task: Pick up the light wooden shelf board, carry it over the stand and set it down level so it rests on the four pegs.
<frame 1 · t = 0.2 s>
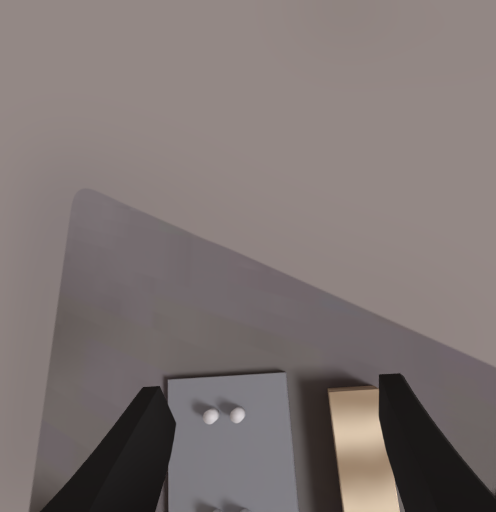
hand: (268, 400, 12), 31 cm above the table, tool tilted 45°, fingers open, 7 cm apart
peg stand: (231, 460, 39), on the table
shelf board: (359, 456, 38), on the table
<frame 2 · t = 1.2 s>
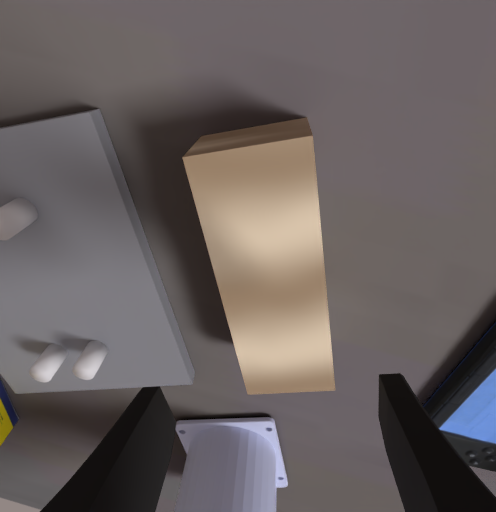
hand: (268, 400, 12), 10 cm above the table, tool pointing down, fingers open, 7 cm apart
peg stand: (52, 280, 22), on the table
shelf board: (274, 252, 20), on the table
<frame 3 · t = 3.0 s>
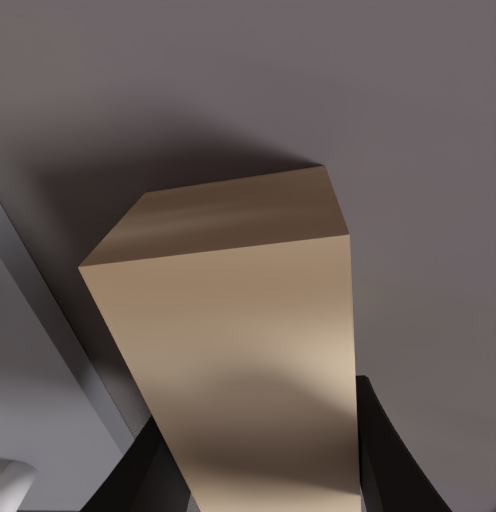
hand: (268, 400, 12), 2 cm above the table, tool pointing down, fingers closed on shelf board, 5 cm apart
shelf board: (269, 357, 13), on the table, touching gripper
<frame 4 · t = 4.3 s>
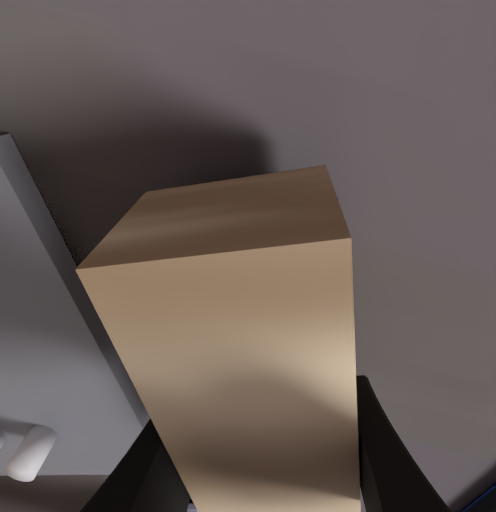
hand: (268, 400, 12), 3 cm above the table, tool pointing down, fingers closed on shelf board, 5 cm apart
shelf board: (269, 359, 13), point 2 cm above the table, touching gripper
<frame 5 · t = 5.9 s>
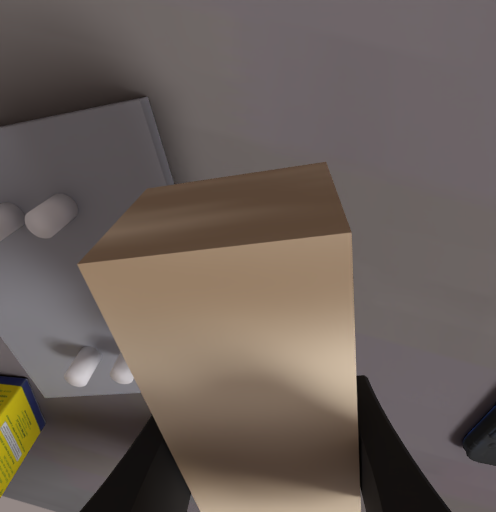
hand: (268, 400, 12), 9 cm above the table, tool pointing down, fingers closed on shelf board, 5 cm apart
peg stand: (87, 280, 21), on the table
supplement box: (4, 395, 28), on the table
shelf board: (269, 357, 13), point 7 cm above the table, touching gripper
when the fingers open (6 cm above the table, at t = 8.5 s): shelf board drops 1 cm, resting on peg stand.
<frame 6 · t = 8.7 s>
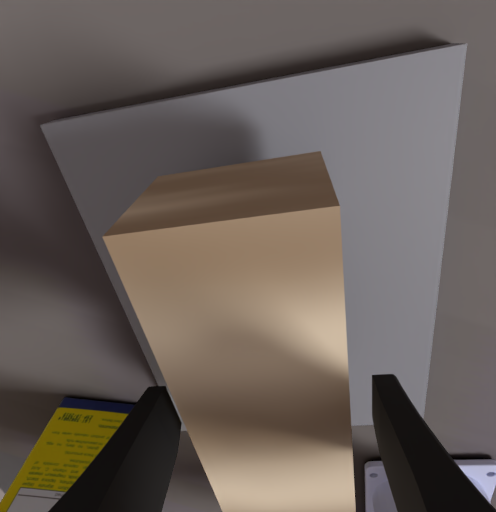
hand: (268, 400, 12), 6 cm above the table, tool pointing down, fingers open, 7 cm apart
peg stand: (272, 292, 17), on the table
supplement box: (117, 424, 24), on the table
shelf board: (270, 335, 14), point 3 cm above the table, touching peg stand
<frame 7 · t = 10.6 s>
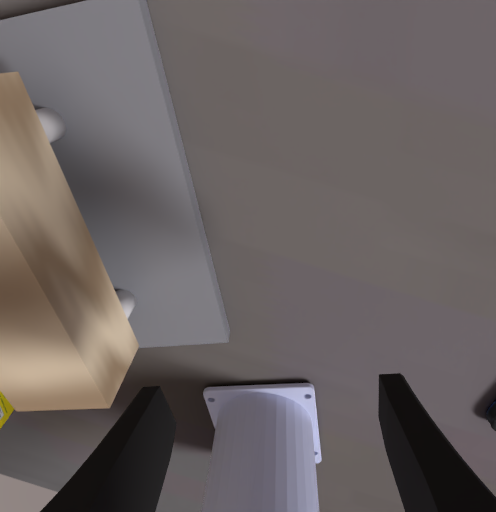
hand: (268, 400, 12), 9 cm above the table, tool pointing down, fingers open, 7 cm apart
peg stand: (76, 218, 19), on the table
shelf board: (43, 243, 17), point 3 cm above the table, touching peg stand
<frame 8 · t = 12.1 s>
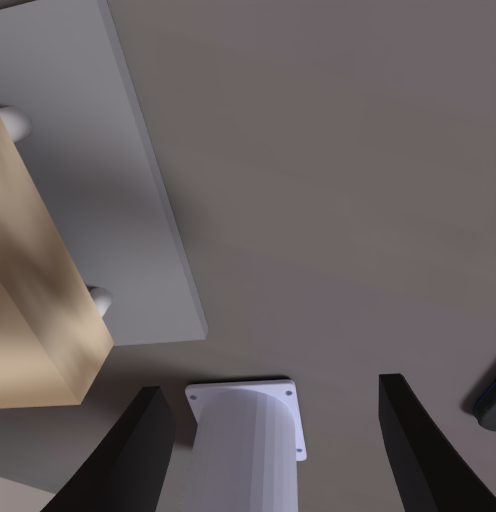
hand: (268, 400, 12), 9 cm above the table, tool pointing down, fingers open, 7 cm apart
peg stand: (49, 217, 20), on the table
shelf board: (13, 241, 17), point 3 cm above the table, touching peg stand
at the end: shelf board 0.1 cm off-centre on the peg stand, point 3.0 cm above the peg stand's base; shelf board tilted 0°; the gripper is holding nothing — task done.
